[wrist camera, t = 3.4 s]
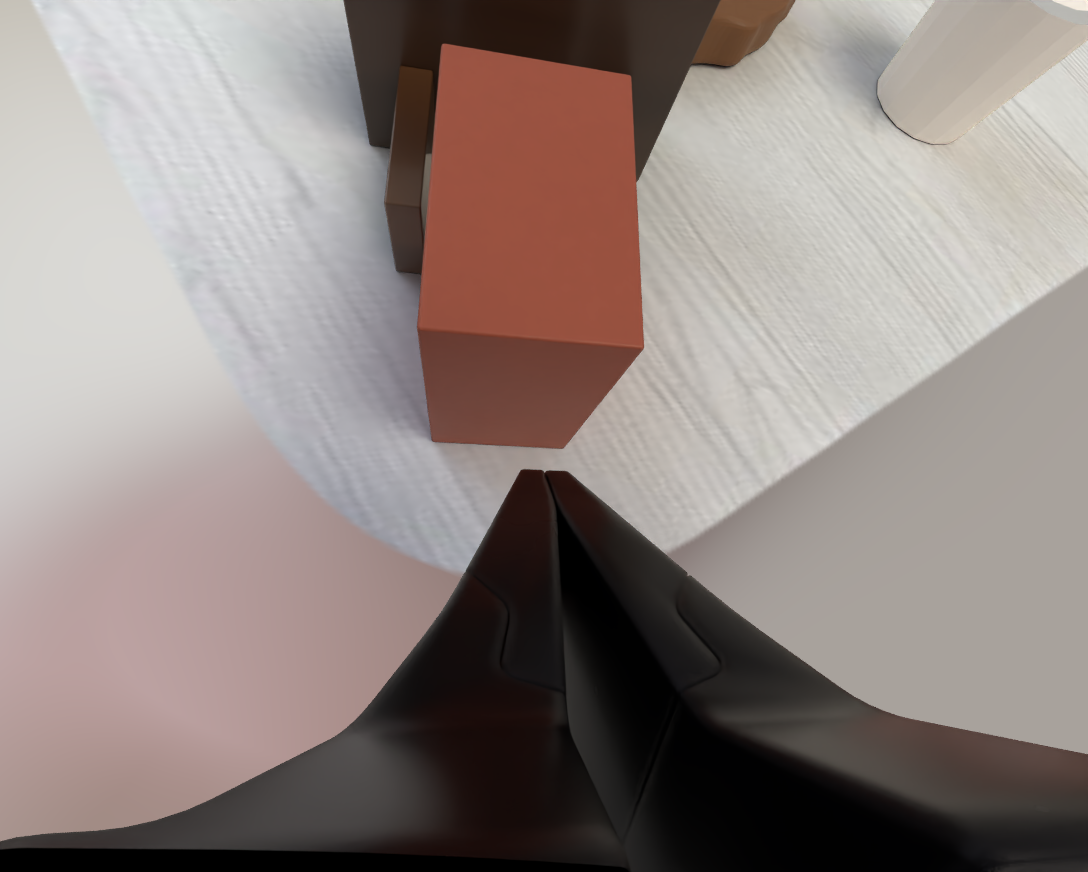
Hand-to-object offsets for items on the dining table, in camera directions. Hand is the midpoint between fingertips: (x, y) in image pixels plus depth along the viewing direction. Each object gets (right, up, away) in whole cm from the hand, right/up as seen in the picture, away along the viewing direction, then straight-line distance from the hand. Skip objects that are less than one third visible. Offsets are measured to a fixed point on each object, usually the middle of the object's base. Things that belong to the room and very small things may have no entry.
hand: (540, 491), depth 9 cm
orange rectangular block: (-2, +4, +12) cm, 13 cm away
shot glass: (+21, +20, +20) cm, 35 cm away
